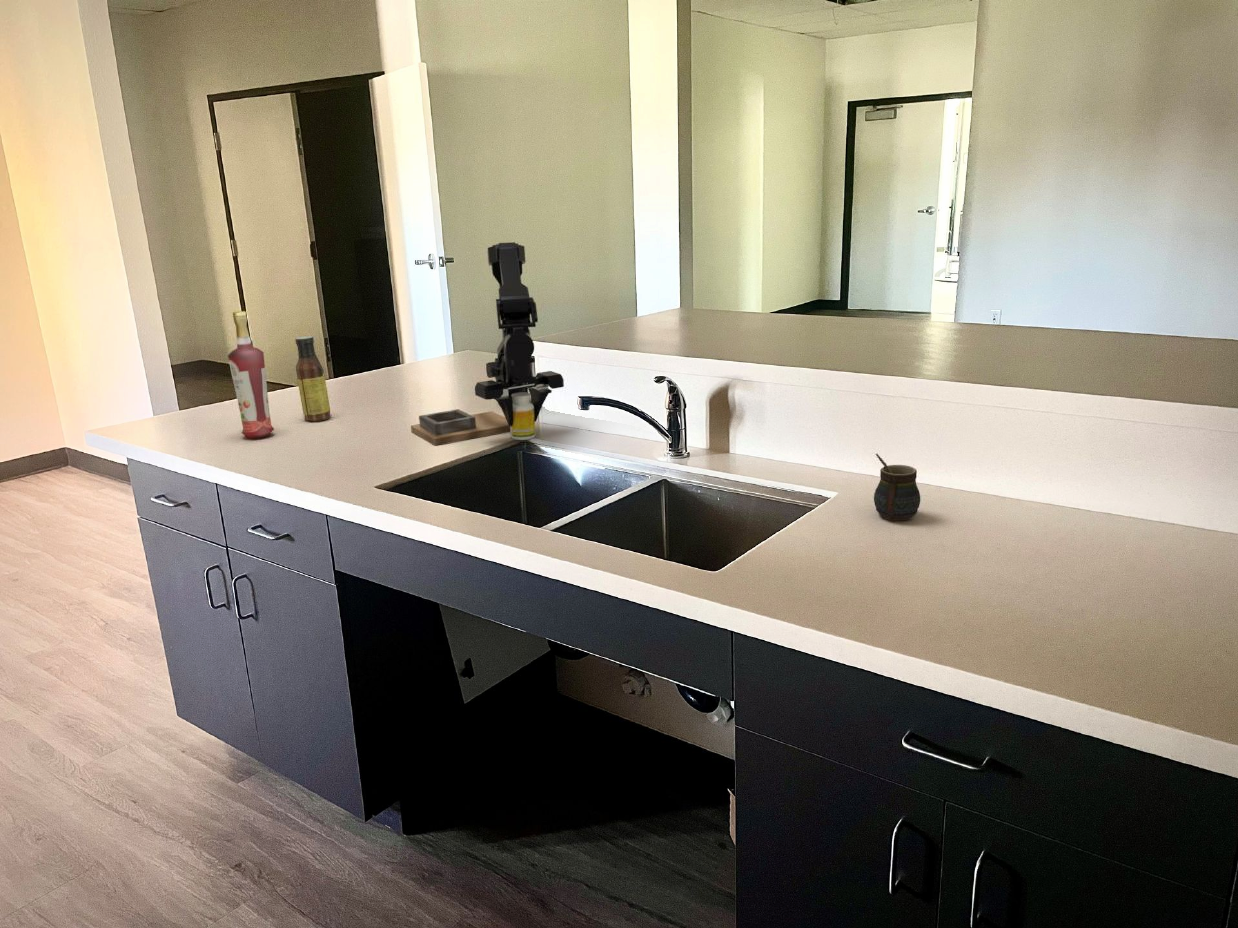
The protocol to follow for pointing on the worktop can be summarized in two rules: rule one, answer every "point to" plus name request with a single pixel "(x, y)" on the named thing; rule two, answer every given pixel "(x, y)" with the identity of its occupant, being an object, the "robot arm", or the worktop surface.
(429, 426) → the socket board
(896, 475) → the mate gourd
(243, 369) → the liquor
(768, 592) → the worktop surface
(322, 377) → the sauce bottle
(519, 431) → the supplement bottle
